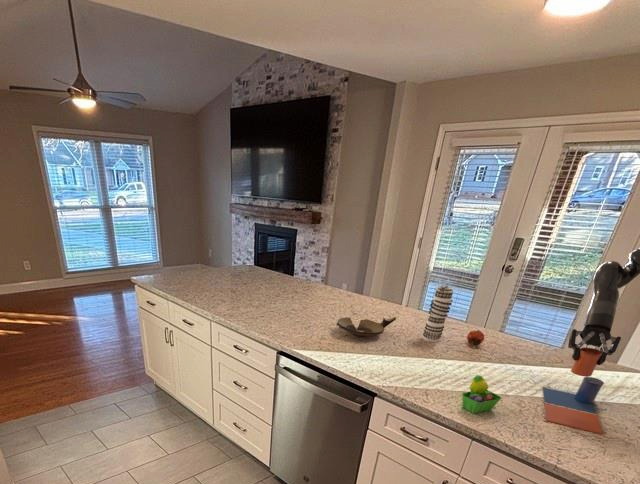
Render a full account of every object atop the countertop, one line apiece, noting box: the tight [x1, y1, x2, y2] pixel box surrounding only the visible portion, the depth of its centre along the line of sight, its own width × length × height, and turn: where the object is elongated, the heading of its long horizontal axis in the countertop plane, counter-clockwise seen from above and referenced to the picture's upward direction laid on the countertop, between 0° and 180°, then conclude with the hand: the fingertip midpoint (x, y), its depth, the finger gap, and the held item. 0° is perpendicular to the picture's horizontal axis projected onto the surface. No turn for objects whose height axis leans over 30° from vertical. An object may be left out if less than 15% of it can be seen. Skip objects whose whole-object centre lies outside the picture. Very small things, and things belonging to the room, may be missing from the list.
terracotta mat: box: [544, 402, 604, 436], centre depth 142 cm, size 16×14×1 cm
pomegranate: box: [466, 329, 485, 347], centre depth 197 cm, size 7×7×10 cm
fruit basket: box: [461, 374, 502, 414], centre depth 143 cm, size 11×9×11 cm
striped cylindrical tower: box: [422, 284, 455, 343], centre depth 197 cm, size 9×9×25 cm
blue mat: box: [542, 386, 598, 415], centre depth 153 cm, size 16×14×1 cm
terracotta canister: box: [570, 346, 603, 377], centre depth 139 cm, size 6×6×8 cm
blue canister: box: [574, 376, 605, 404], centre depth 151 cm, size 6×6×8 cm
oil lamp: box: [335, 316, 397, 337], centre depth 204 cm, size 22×30×8 cm
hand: (587, 361), depth 138 cm, fingers closed on terracotta canister, 6 cm apart
